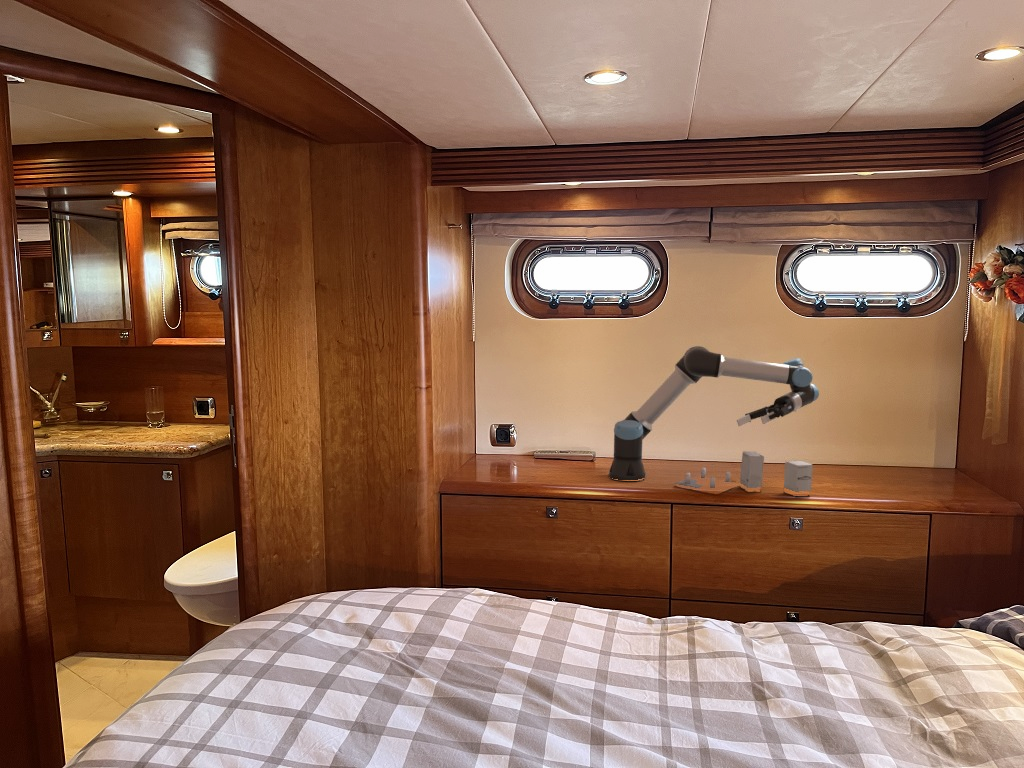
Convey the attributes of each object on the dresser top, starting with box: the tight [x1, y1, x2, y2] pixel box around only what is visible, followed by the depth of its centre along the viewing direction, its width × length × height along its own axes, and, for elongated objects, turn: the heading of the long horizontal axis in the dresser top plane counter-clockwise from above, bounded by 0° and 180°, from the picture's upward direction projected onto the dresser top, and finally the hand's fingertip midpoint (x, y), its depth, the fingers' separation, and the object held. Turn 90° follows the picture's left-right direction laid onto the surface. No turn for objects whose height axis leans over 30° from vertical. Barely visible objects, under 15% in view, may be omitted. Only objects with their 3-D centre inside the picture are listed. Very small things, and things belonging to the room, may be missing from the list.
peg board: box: [674, 467, 731, 488], centre depth 298 cm, size 18×20×6 cm
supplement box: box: [783, 460, 814, 492], centre depth 287 cm, size 7×7×13 cm
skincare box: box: [739, 450, 765, 488], centre depth 293 cm, size 8×6×15 cm
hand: (749, 421), depth 293 cm, fingers open, 13 cm apart
